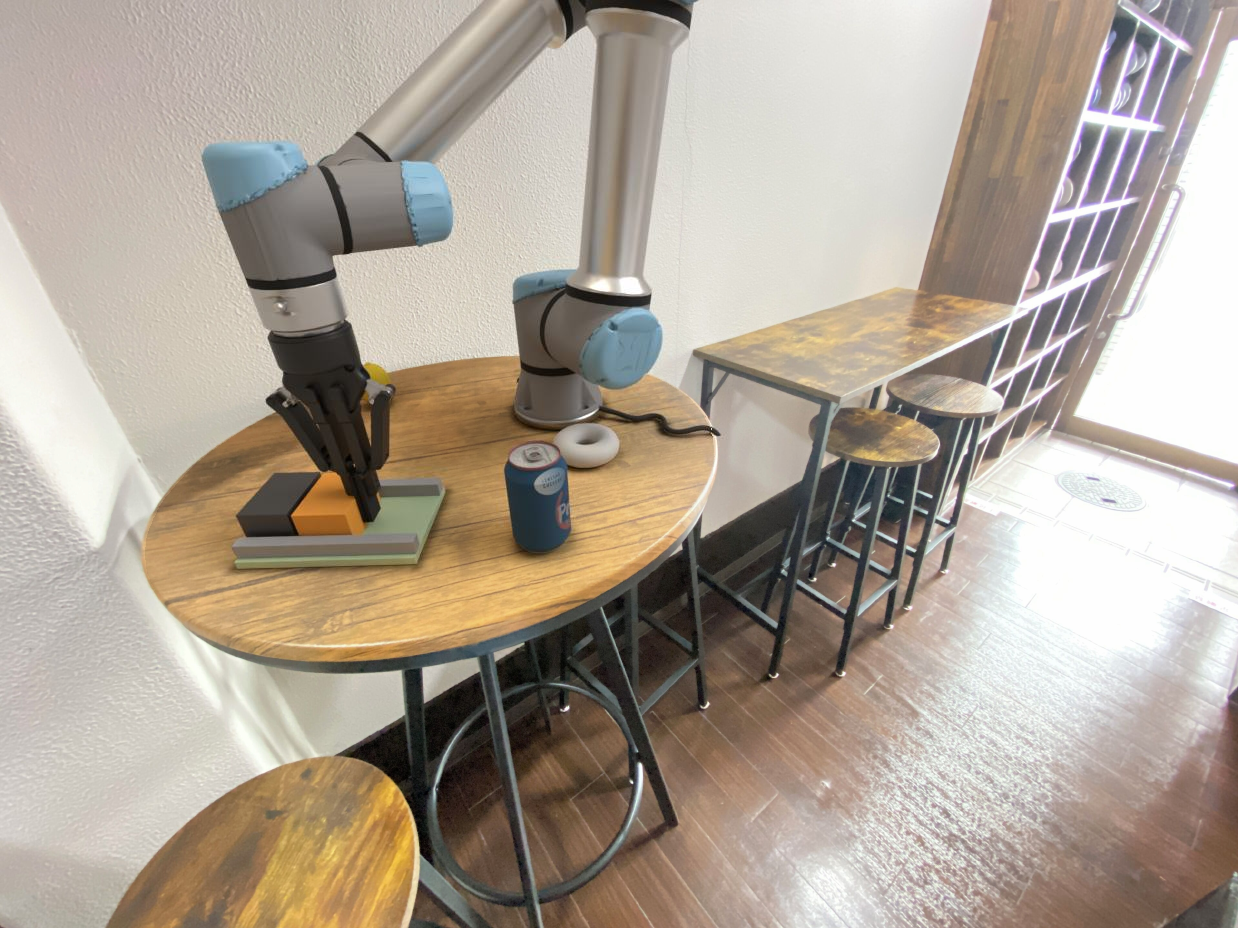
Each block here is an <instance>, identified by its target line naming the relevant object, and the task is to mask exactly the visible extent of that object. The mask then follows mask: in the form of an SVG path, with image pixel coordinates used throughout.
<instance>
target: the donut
mask: <svg viewBox="0 0 1238 928" xmlns="http://www.w3.org/2000/svg"><path fill="white" fill-rule="evenodd" d="M552 443H553V444H555V445H556V446H558V447H559V449H560V451H561V455H562V456H563V458H564V459H565V461H566V463H567V466H569V467H574V468H580V469H591V468H597V467H601V466H603V465H606V464H607V463H609V462H610V461H612V460H613V459H614V458H615V457H616V455H617V454H618V452H619V450H620V449H619V448H620V444H621V443H620V440H619V438H618V435H617V434H616V432H615V431H614V430H613V429H611V428H610V427H608V426H606V425H604V424H600V423H594V422H589V423H581V424H575V425H571V426H568V427H566V428H564V429H560V431H559V432H558V433H556V434H555V436H554V439H553V442H552Z"/></svg>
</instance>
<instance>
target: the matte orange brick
mask: <svg viewBox="0 0 1238 928" xmlns="http://www.w3.org/2000/svg"><path fill="white" fill-rule="evenodd" d="M377 498H378V501H379V503H380V501H381V499H380V496H379V492H378V493H377ZM291 517H292V520H293V522H294V524H295V527H296V529H297V531H298V534H299V536H321V535H362V533H363V532H364V530H365V528H366V526H367V524H368V523H369V522H364V523H363V520H362V518H361V515H360V512H359V509H358V506H357V503H356V500H355V498H354V496H348V495H347V494H346V492H345V489H344V486H343V483H342V481H341V478H340V476H339V475H338V474H337V473H336V472H323V474H321V477H320V479H319V480H318V481H317V483H316V484H315V485H314V486H313V488H312V489H311V490H310V492H309V493H308V494H307V496H306V497H305V498H304V499H303V501H302V502H301V503H300V505H299V506H298V507H297V509H296V510H295V511H294V512H293V514H292V515H291Z"/></svg>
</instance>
